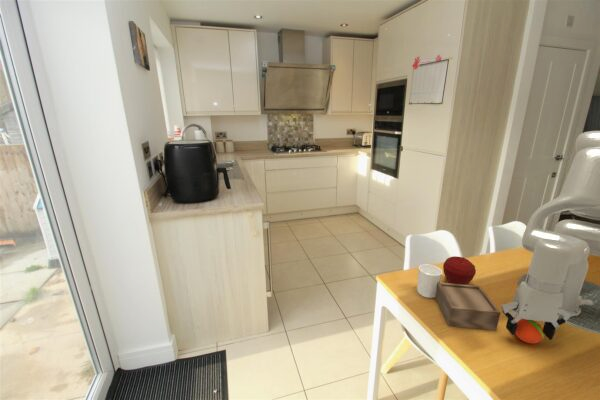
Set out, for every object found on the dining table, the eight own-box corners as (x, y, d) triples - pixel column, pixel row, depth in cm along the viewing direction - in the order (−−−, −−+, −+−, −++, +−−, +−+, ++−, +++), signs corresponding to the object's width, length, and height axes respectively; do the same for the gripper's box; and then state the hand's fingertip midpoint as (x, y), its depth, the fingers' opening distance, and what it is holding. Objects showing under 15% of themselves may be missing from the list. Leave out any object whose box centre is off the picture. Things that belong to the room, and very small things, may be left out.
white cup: (440, 300, 101) (444, 276, 98) (417, 297, 103) (421, 274, 100) (435, 287, 108) (439, 265, 105) (413, 285, 110) (417, 263, 107)
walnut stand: (476, 302, 100) (479, 286, 98) (496, 330, 87) (500, 312, 85) (435, 298, 102) (437, 282, 100) (448, 325, 89) (451, 307, 87)
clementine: (550, 350, 79) (556, 329, 77) (529, 353, 78) (535, 332, 76) (524, 329, 87) (529, 310, 85) (505, 332, 86) (510, 313, 84)
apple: (435, 282, 112) (439, 256, 109) (449, 273, 118) (453, 249, 115) (464, 296, 103) (469, 268, 100) (477, 286, 109) (482, 259, 106)
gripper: (568, 278, 79) (552, 328, 84) (502, 272, 82) (490, 321, 86) (590, 294, 72) (571, 348, 77) (516, 287, 75) (502, 339, 79)
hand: (528, 333), depth 82 cm, fingers open, 9 cm apart
